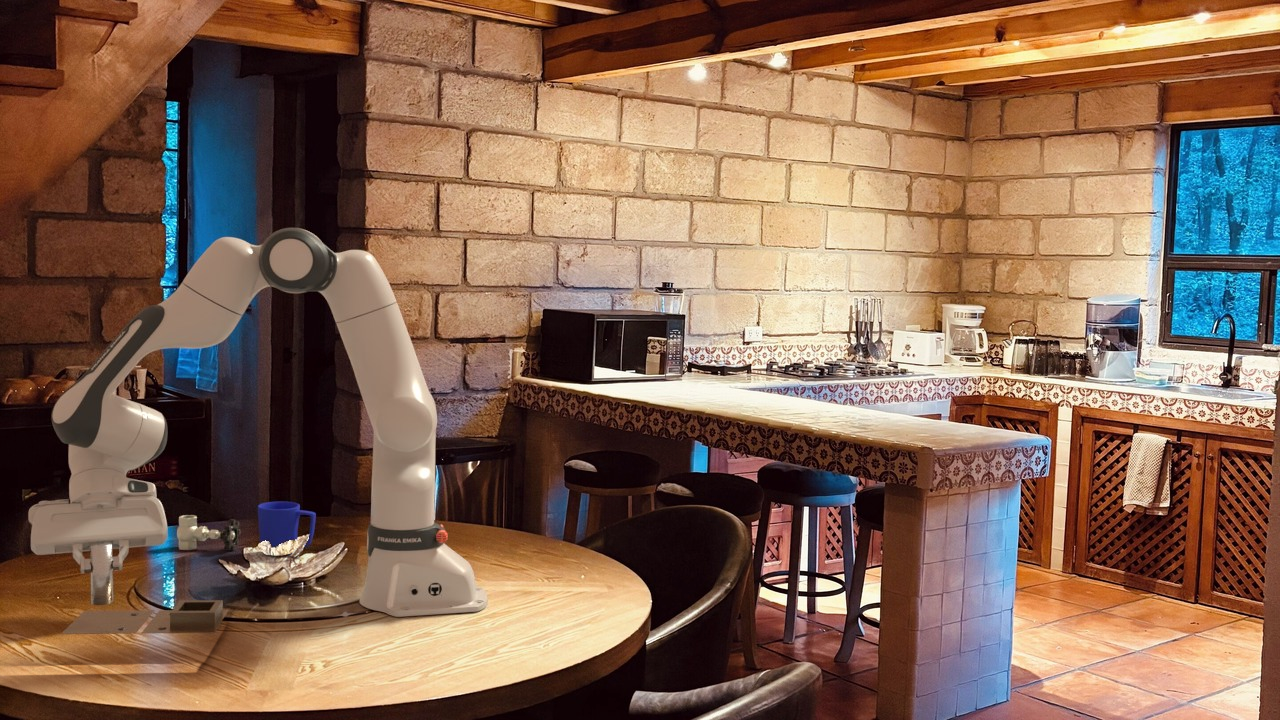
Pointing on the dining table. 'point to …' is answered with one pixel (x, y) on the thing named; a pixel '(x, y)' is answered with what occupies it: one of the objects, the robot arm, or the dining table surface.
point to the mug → (282, 522)
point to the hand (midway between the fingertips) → (101, 570)
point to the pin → (101, 573)
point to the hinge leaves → (153, 620)
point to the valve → (205, 533)
